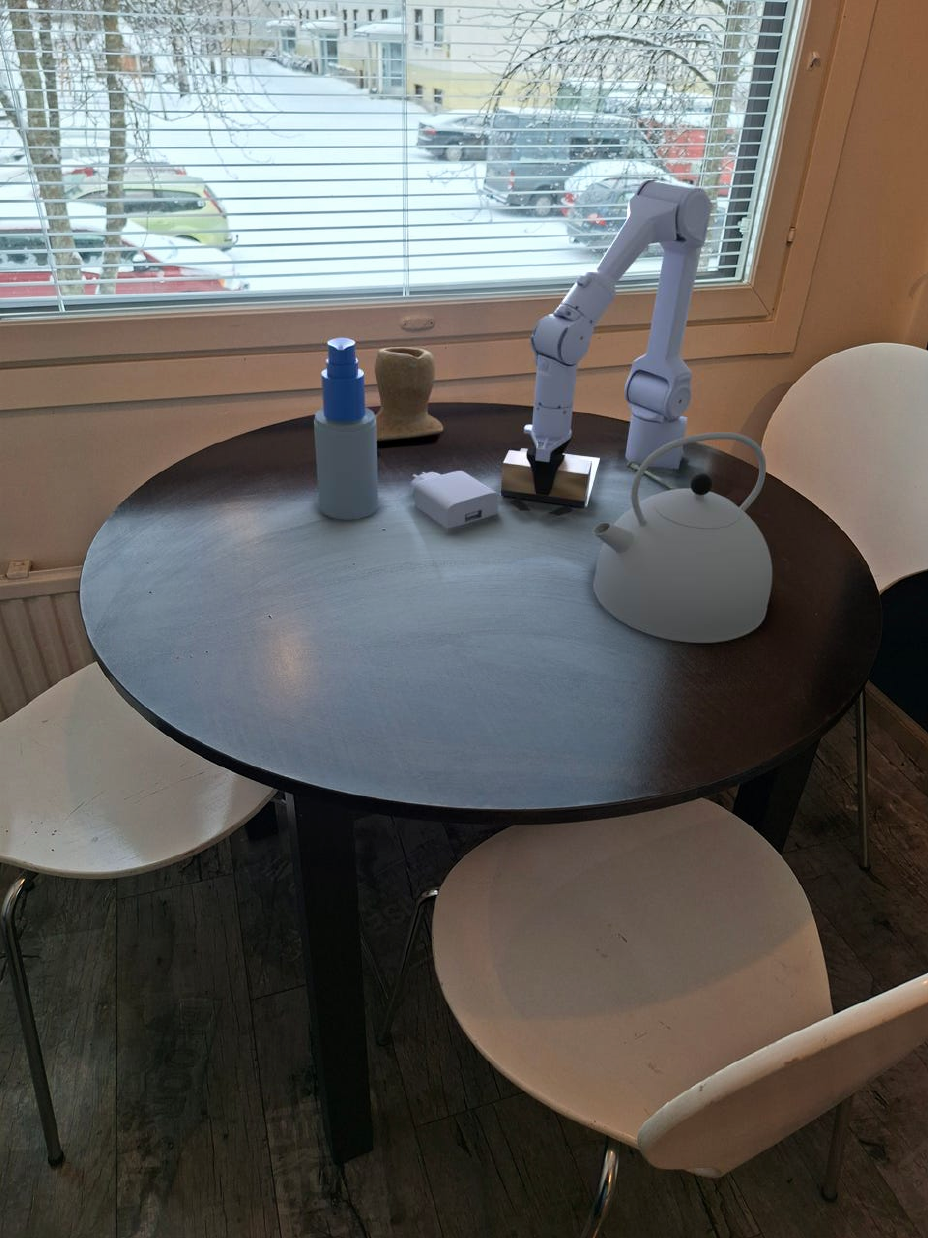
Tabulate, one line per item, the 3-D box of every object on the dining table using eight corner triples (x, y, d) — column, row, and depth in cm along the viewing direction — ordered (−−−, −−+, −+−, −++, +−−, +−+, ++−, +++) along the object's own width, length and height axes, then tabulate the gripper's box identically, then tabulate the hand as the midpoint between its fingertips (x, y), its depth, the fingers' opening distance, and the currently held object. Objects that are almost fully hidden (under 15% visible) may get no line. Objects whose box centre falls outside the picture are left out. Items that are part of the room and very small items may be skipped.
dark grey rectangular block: (510, 504, 135) (510, 500, 134) (519, 502, 135) (519, 498, 135) (524, 520, 132) (524, 515, 131) (533, 517, 132) (534, 513, 132)
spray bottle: (327, 490, 137) (317, 329, 123) (383, 494, 137) (379, 333, 123) (313, 517, 130) (301, 349, 116) (372, 521, 129) (367, 354, 115)
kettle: (618, 656, 104) (648, 484, 91) (553, 560, 122) (570, 405, 109) (801, 630, 110) (853, 465, 97) (713, 542, 128) (747, 393, 115)
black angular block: (565, 508, 134) (566, 504, 133) (572, 513, 133) (573, 509, 132) (543, 518, 132) (543, 514, 131) (549, 523, 131) (550, 519, 130)
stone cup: (427, 416, 164) (428, 336, 155) (449, 441, 155) (451, 357, 146) (348, 425, 159) (345, 342, 150) (366, 451, 150) (364, 365, 141)
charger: (442, 481, 141) (497, 519, 131) (393, 494, 137) (447, 534, 127) (442, 454, 139) (499, 490, 129) (393, 467, 134) (447, 505, 124)
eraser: (588, 493, 137) (592, 460, 134) (584, 507, 133) (588, 474, 130) (506, 481, 139) (509, 449, 136) (500, 495, 135) (502, 462, 132)
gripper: (535, 381, 134) (528, 463, 142) (517, 415, 122) (511, 502, 130) (580, 387, 133) (571, 469, 141) (567, 422, 121) (558, 509, 129)
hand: (545, 486), depth 135 cm, fingers closed on eraser, 5 cm apart
